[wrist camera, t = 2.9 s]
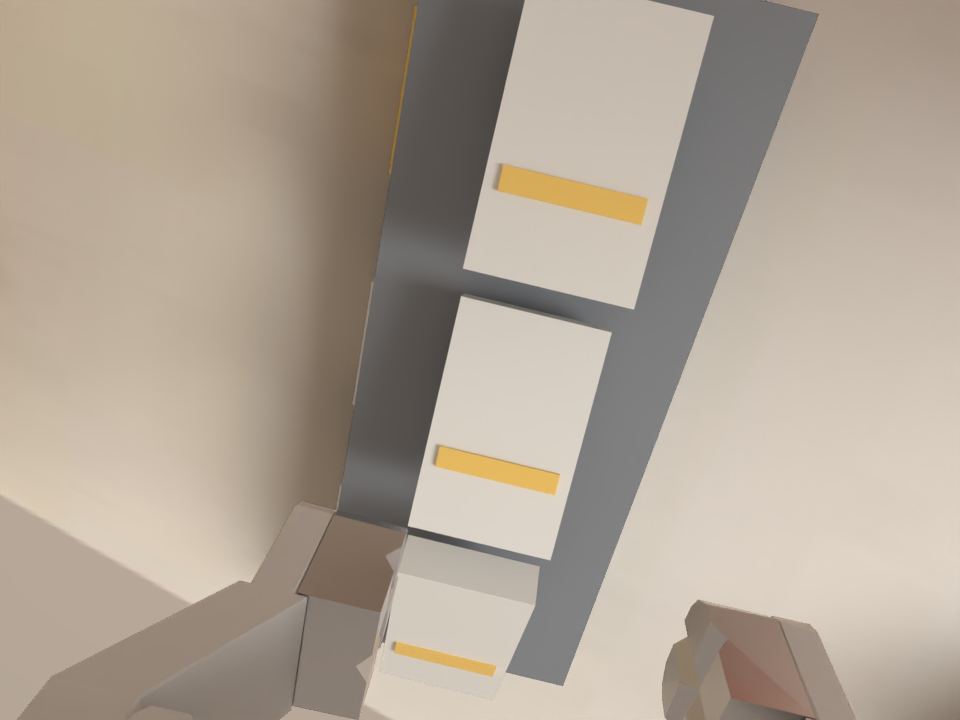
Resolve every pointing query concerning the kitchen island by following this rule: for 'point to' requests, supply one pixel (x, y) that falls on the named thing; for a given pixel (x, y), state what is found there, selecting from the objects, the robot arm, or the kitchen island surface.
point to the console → (635, 333)
